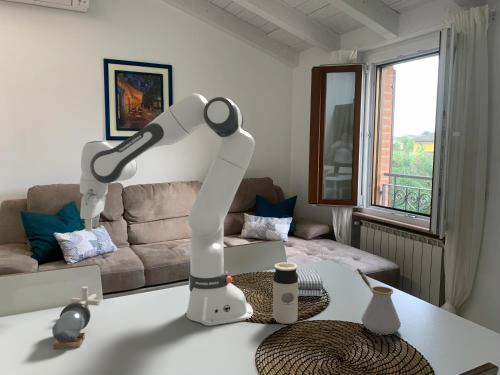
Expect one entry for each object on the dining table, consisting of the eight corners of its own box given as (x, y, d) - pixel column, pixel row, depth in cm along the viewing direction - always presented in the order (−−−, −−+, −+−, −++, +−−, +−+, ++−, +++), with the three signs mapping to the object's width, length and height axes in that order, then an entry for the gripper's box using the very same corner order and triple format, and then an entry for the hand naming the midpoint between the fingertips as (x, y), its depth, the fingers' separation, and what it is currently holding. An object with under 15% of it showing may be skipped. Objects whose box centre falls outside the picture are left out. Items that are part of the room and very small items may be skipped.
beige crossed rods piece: (90, 324, 123) (89, 293, 122) (62, 321, 125) (61, 291, 124) (108, 311, 132) (107, 283, 131) (82, 309, 134) (80, 281, 133)
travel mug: (274, 313, 131) (274, 261, 130) (297, 314, 130) (298, 262, 129) (272, 323, 124) (272, 268, 122) (297, 325, 123) (298, 270, 121)
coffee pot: (408, 336, 115) (410, 287, 114) (373, 340, 113) (375, 291, 111) (370, 308, 136) (372, 266, 135) (340, 311, 133) (341, 268, 132)
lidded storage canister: (61, 332, 117) (60, 303, 116) (91, 330, 118) (90, 301, 117) (50, 349, 107) (48, 317, 106) (82, 347, 108) (81, 315, 108)
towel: (283, 299, 145) (283, 278, 144) (279, 282, 163) (279, 264, 162) (324, 299, 145) (324, 278, 144) (315, 282, 163) (315, 264, 162)
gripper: (97, 191, 123) (95, 234, 124) (108, 186, 143) (107, 223, 144) (76, 190, 122) (74, 233, 123) (90, 185, 142) (89, 223, 143)
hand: (92, 228), depth 133 cm, fingers open, 8 cm apart
